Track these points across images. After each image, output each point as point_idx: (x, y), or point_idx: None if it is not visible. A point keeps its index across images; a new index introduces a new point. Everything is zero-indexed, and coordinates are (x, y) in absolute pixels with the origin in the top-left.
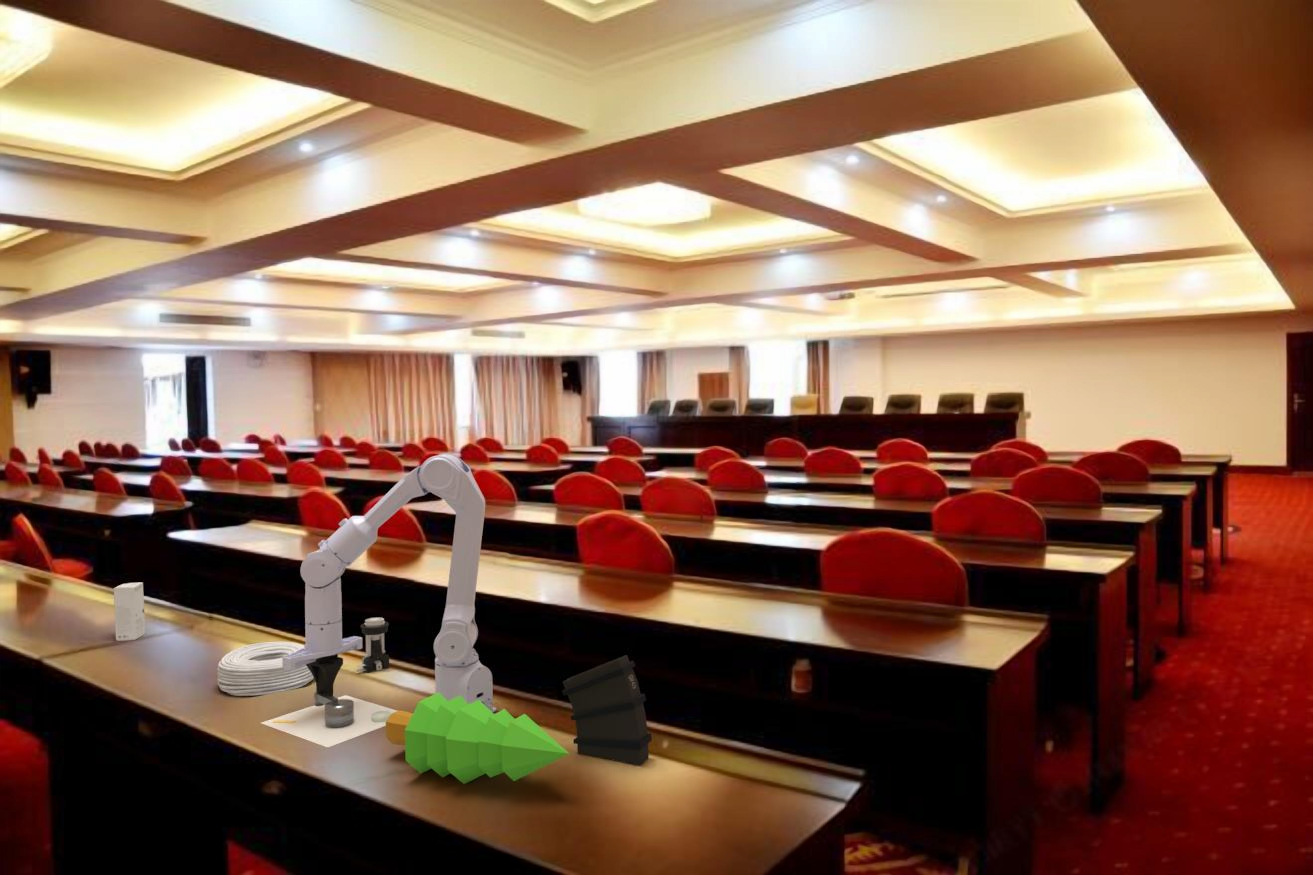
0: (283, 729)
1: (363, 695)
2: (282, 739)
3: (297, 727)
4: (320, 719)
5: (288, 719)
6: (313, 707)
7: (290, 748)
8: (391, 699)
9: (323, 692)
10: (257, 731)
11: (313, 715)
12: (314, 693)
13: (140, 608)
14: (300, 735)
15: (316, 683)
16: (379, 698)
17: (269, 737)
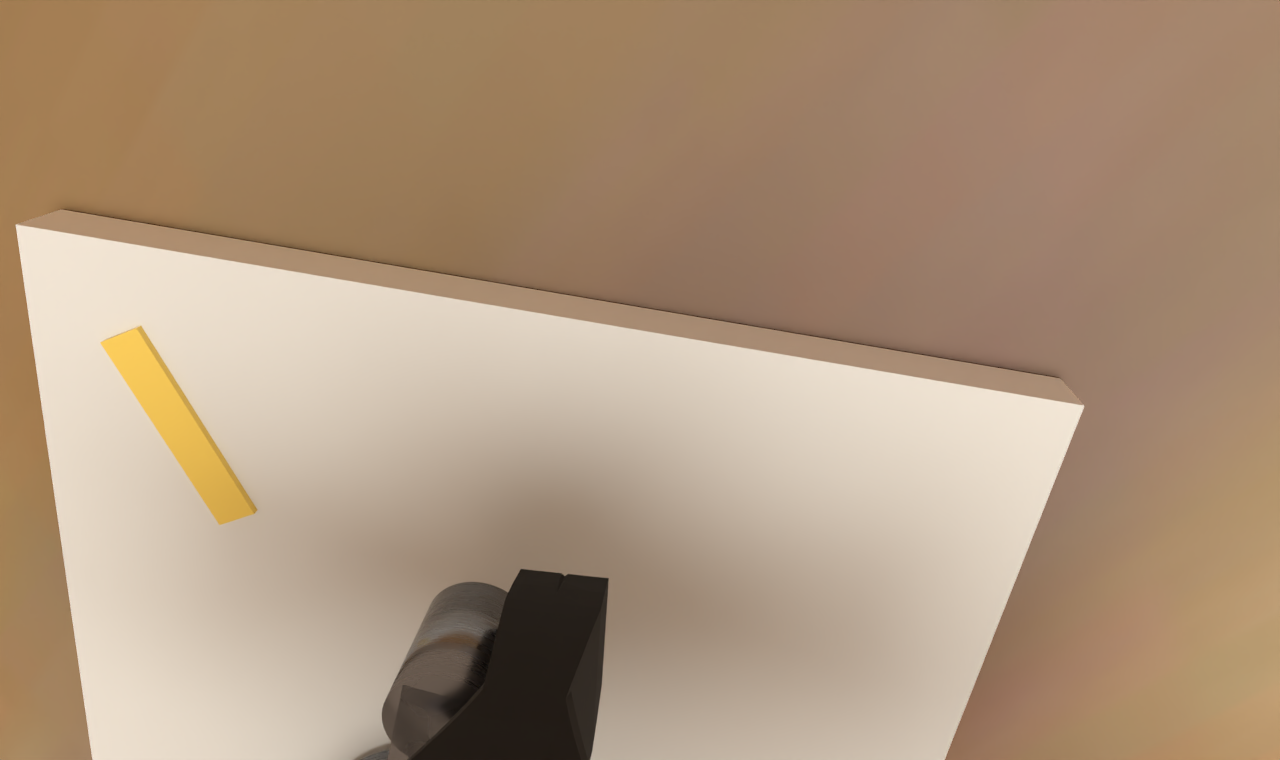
0: (85, 552)
1: (1275, 430)
2: None
3: (189, 614)
4: None
5: (247, 409)
6: (610, 375)
7: (39, 719)
8: (1210, 728)
9: None
10: None
11: (449, 536)
12: (392, 695)
13: None
14: (113, 740)
15: (477, 694)
16: (1214, 625)
17: (28, 445)
